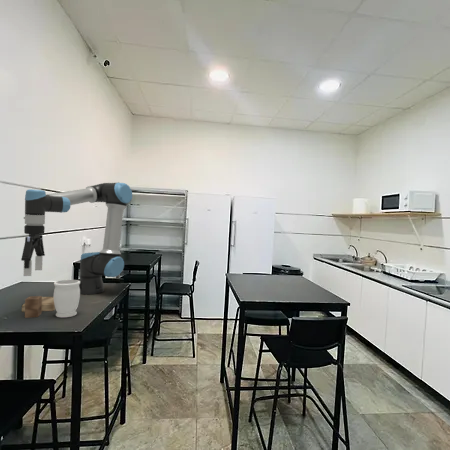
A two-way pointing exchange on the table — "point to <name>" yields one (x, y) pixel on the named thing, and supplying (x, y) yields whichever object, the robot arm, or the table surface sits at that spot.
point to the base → (45, 304)
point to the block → (33, 306)
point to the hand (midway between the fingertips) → (33, 273)
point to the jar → (66, 297)
